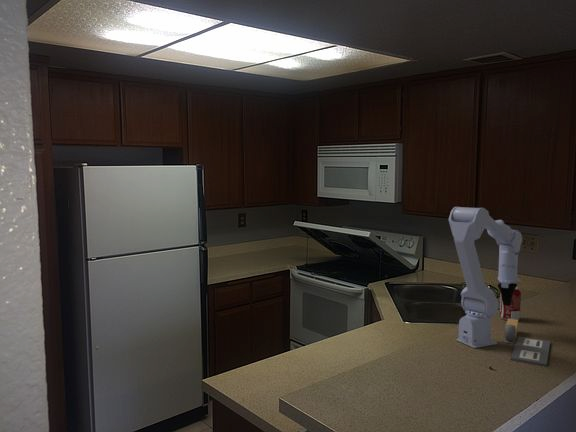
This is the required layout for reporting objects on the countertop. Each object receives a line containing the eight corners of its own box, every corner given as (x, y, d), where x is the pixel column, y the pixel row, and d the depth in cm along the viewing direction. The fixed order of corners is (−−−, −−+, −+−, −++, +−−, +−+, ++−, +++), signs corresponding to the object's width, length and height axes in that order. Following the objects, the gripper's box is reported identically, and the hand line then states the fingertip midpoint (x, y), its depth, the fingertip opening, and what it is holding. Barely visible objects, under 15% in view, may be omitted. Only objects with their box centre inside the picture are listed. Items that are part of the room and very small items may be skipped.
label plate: (546, 366, 132) (546, 363, 132) (495, 357, 138) (495, 354, 138) (550, 343, 151) (550, 340, 151) (505, 336, 157) (505, 333, 157)
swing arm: (515, 341, 150) (515, 327, 150) (504, 340, 151) (504, 326, 151) (517, 329, 162) (518, 316, 162) (507, 328, 164) (508, 315, 163)
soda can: (523, 321, 173) (524, 289, 172) (504, 321, 173) (505, 289, 172) (514, 316, 180) (515, 285, 179) (496, 316, 180) (497, 285, 179)
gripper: (519, 269, 151) (517, 311, 152) (523, 262, 164) (521, 301, 165) (495, 267, 155) (493, 308, 156) (501, 261, 167) (499, 299, 168)
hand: (506, 305), depth 160 cm, fingers closed
